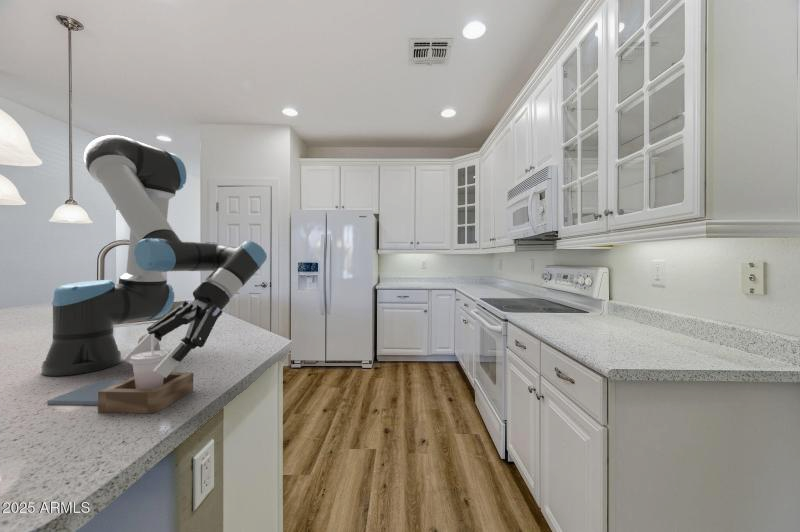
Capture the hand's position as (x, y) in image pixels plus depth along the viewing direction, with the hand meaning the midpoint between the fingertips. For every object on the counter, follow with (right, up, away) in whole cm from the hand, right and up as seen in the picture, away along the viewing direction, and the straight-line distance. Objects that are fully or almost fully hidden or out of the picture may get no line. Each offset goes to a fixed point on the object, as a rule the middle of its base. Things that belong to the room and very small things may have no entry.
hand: (143, 368), depth 63 cm
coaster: (-13, -7, +4) cm, 15 cm away
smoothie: (0, -7, +1) cm, 8 cm away
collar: (0, -7, +1) cm, 7 cm away
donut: (-14, -7, +18) cm, 24 cm away
